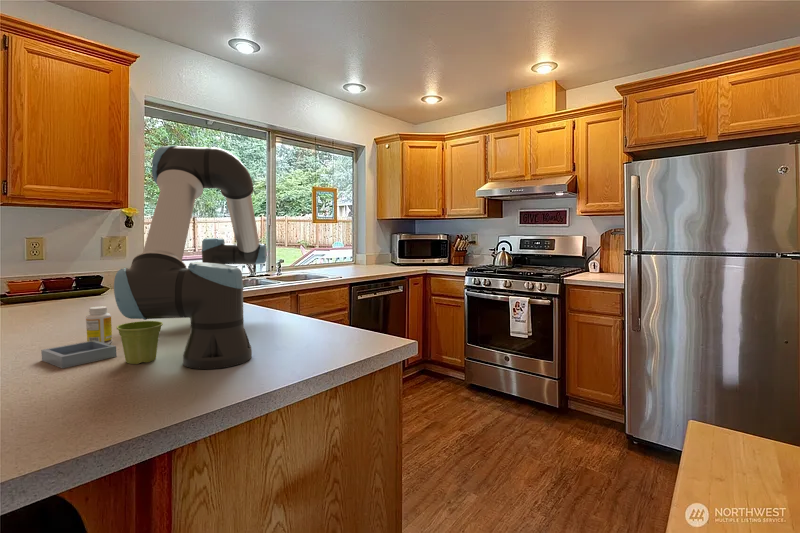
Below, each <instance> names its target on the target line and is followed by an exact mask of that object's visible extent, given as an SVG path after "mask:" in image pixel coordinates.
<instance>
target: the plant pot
mask: <svg viewBox="0 0 800 533" xmlns="http://www.w3.org/2000/svg"><path fill="white" fill-rule="evenodd" d="M162 326H164V323H163V321H158V320H141V321H140V320H139V321H131V322H125V323H122V324H119V325H117V326H116V330H118V335H120V340H121V342H122V349H123V355H124V358H125V362H126V363H127V364H131V365H132V364H133V365H138V364H140V363H150V362H153V361H154V360H156V359H157V353H158V352H157V350H158V344H159V337H160V332H161V329H162Z"/></svg>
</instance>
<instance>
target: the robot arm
mask: <svg viewBox="0 0 800 533" xmlns="http://www.w3.org/2000/svg"><path fill="white" fill-rule="evenodd" d="M151 164H152V166H151V175H152V179H153V181H154V183H155V184H156V186H157V187H158V189H159V190H160V192H159V195H158V198H157V201H156V204H155V205H156V206H155V208H154V212H153V214H152V215H153V216H152V219H151V222H150V225H149V230H148V233H147V237H146V241H145V244H144V247H143V251H142V253H140V254H137V255H136V256H135V257H134V258H133V259H132V262H131V264H130V268H127V267H124V268H120V269H119V270H117V271H116V274H115V275H114V280H113V281H114V282H113V295H114V299H115V303H116V306H117V308H118V311H119V312H120V313H121V315H122V316H123V317H125V318H127V319H132V320H136V319H137V320H143V321H148V320H155V319H156V320H157V319H185V318H187V319H189V321H190V331H189V335H188V338H187V341H186V344H185V348H184V351H183V353H182V362H183V363H182V365H183V366H184V367H187V368H190V369H196V370H214V369H224V368H228V367H234V366H237V365H241V364H244V363H246V362H248V361H250V360H252V357H253V356H252V354H253V350H252V346H251V343H250V340H249V338H248V335H247V332H246V330H245V325H244V324H245V322H244V321H245V320H244V288H245V287H244V282H243V273H242V271H241V269H240V268H239V267H237V266H234V265H262V264H263V265H265V263H266V262H267V258H268V256H267V254H268V249H267V245H266V244H265V243H261V242H260V241H259V240H260V239H259V235H258V228H257V224H256V217H255V210H254V209H255V208H254V205H253V199H252V194H253V192H254V184H253V183H254V182H253V179H252V176H251V175H250V172H249V170H248V169H247V168H246V165H244V163H242V161H241V160H240V159H239V158H238V157H237V156H236V155H234V154H233V153H231V152H229V151H228V150H225V149H223V148H220V147H205V146H202V147H201V146H187V145H186V146H184V145H183V146H182V145H176V144H174V145H173V144H172V145H162V146H159V148H158V149H156V151H155V152H154V154H153V157H152V161H151ZM204 189H219V190H220V193H221V195H222V196H223V197H224V198H225V200H226V205H227V208H228V213H229V216H230V217H229V218H230V221H231V225H232V229H233V230H232V231H233V233H234V238H235V242H236V243H230V242H229V243H228V242H227V243H226V241H225V239H223V238H222V237H221V238H215V237H214V238H213V237H210V238H209V237H207V238H203V240H202V243H201V251H200V252H201V261H192V262H189V264H188V266H187V265H186V263H184V261H182V260H183V257H184V252H185V247H186V244H187V243H186V242H187V238H188V234H189V229H190V224H191V220H192V216H193V212H194V211H193V210H194V207H195V206H194V205H195V202H196V199H198V198H200V197H201V196H202V194H203V192H204Z"/></svg>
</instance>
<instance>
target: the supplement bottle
mask: <svg viewBox="0 0 800 533" xmlns="http://www.w3.org/2000/svg"><path fill="white" fill-rule="evenodd" d="M88 313H89V314H88V315H86V317H85V324H86V342H87V341H93V340H96V341H99V342H103V343H106V344H110V345H111V344H112V342H113V330H112V328H113V327H112V315H111V313H109V312H108V306H105V305H104V306H102V305H101V306H92V307H89V310H88Z"/></svg>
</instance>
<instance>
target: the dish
mask: <svg viewBox="0 0 800 533" xmlns="http://www.w3.org/2000/svg"><path fill="white" fill-rule="evenodd" d="M116 357H117V346H116V345H114V344H111V343H110V344H106V343H103V342H99V341H96V340H93V341H87V340H86V341H83V342H78V343H77V342H76V343H72V344H67V345H61V346H56V347H50V348H44V349H41V361H42V362H45V363H47V364H49V365H53V366H54V367H57V368H60V369H65V368H71V367H76V366H79V365H84V364H88V363H93V362H97V361H102V360H108V359H111V358H116Z"/></svg>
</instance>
